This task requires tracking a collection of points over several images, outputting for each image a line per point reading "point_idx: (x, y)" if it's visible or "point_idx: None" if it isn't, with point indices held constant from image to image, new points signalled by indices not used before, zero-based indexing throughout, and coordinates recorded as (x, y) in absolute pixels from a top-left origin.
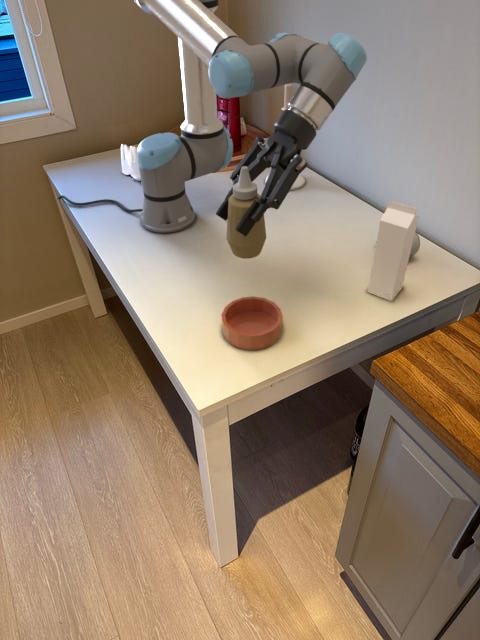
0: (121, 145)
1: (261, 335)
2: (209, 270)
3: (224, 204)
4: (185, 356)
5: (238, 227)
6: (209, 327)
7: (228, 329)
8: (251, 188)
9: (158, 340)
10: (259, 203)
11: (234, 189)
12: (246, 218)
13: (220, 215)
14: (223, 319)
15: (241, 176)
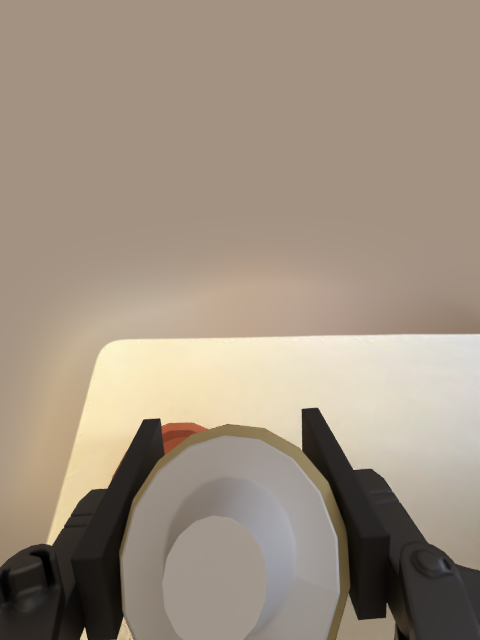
0: None
1: (114, 473)
2: (418, 513)
3: (316, 441)
4: (193, 359)
5: (143, 426)
6: (232, 420)
7: (169, 423)
8: (149, 578)
9: (246, 339)
10: (74, 577)
11: (230, 437)
12: (121, 464)
13: (304, 427)
14: (198, 427)
15: (206, 497)
